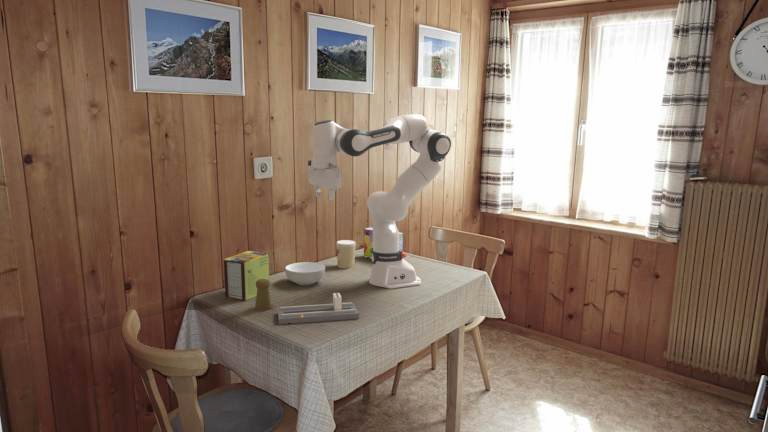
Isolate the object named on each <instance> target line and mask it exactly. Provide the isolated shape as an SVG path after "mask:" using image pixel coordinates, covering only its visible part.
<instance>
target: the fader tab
mask: <svg viewBox="0 0 768 432" xmlns="http://www.w3.org/2000/svg"><path fill="white" fill-rule="evenodd" d="M342 303H343V302H342V295H341V293H340V292H334V293H332V304H333V308H334V310H342Z"/></svg>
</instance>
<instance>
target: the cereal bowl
mask: <svg viewBox="0 0 768 432" xmlns="http://www.w3.org/2000/svg"><path fill="white" fill-rule="evenodd" d="M284 269H285V271H284V272H285V276H286V277H287V279H288V280H289V281H291V282H293V283H295V284H297V285H299V286H311V285H313V284H315V283H317V282H319V281H320V280H322V279H323V277H324V275H325V273H326V266H325V265H324V264H322V263H319V262H312V261H311V262H310V261H305V262H304V261H303V262H301V261H300V262H295V263H291V264H288V265H286V266H285V268H284Z"/></svg>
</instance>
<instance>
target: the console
mask: <svg viewBox="0 0 768 432" xmlns="http://www.w3.org/2000/svg"><path fill="white" fill-rule="evenodd" d="M301 315H303V318H301ZM277 318H278V325H289V324H288V323H291V324H292V325H293V324H303V323H304V324H305V323H306V324H307V323H317V322H330V321H331V322H333V321H345V320H347V321H348V320H359V319H360V312H359V311H358V309H357V306H356V305H355V303H354V302H352V301H351V302H342V310H334V308H333V303H325V304H324V303H323V304H310V305H309V304H308V305H301V306H299V305H293V306H290V305H289V306H280V307H277ZM291 324H290V325H291Z"/></svg>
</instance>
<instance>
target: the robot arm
mask: <svg viewBox="0 0 768 432" xmlns="http://www.w3.org/2000/svg"><path fill="white" fill-rule="evenodd" d="M428 127H429V125H428V121H427V119H426V118H425V116H423V115H422V114H419V113H410V114H409V113H408V114H402V115H396V116H393V117H391V118H388V119H387V120H385V121H384V122H383V125H382V127H381V128H375V129H373V130H367V131H364V130H361V129H357V128H355V129H354V128H353V129H350V128H349V129H347V128H345V127H343V126H341V125H339V124H337V123H336V122H335V121H334V120H332V119H326V120H320V121H317V122H316V123H314V126H313V129H312V147H313V151H312V158H310V159H308V160H307V161H306V166H307V180H308V183H309V185H313V188H314V191H315V196H316V197H318V198H321V197H322V196H323V195H322V191H321V187H322V188H325V189H326V188H327V189H328V192H329V194H328V195H327V199H328V200H329V201H333V200H334V199H335V193H336V190H340V189H341V188H342V175H341V174H342V173H341V171H340V168H339V167H338V165H337V160H336V159H337V153H339V154H343V155H348V156H351V157H359V156H361V155H363V154H364V153H366V152H368V151H369V150H370V149H371V148H375V147H379V146H382V145H386V144H390V145H393V144H403V143H409V146H410V148H411V149H412V150H413V151H415V152H417V153H419V155H418V158H417V159H416V161H414V162H413V163H412V164H411V165H409V167H408V168H407V169H406V170H404V172H402V173H401V174H400V175H399V176H398V177H397V179H396V183H395V185H393V187H392V189H391V190H390V191H388V192H387V191H384V190H381V191H379V190H378V191H374V192H372V193H371V194H369V196H368V198H367V200H366V207H367V208H368V211H369V217H370V223H371V226H372V227H371V228H373V250H372V259H371V262H372V265H371V271H370V277H369V282H368V283H369V284H370V285H372V286H376V287H382V288H386V289H390V290H391V289H397V288H405V287H413V286H419V285H420V286H421V284H422V279H421V278H420V277H419V276H418V275H417V273H416V270H415V268H414V266H413V265H412V264H411V263H410V262H408V261H407V260H406V259H405V258H406V257H407V254H406V253H405V252H404V251H403V250H402V251H400V250H399V232H400V231H399V229H398V227H397V223H396V222H400V221H402V220H405V218H406V217H407V216H408V212H409V208H410V206H411V204H412V203H413V202H414V200H415V198H416V197H417V196H418V195H419V194H420V193H421V192H422V191H423V190H424V189H426V187H427V186H428V185H429V184H431V182H432V181H433V180H434V179H435V178H436V176H437V175H438V173H439V172H440V171H441V168H442V164H441V162H442V161H443V160H444V159H445V157H446V156H447V155H448V154H449V153H450V150H451V147H452V141H451V138H450V137H449V136H448V135H447V134H446V133H445V132H443V131H438V130H436V129H431V128H428Z"/></svg>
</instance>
